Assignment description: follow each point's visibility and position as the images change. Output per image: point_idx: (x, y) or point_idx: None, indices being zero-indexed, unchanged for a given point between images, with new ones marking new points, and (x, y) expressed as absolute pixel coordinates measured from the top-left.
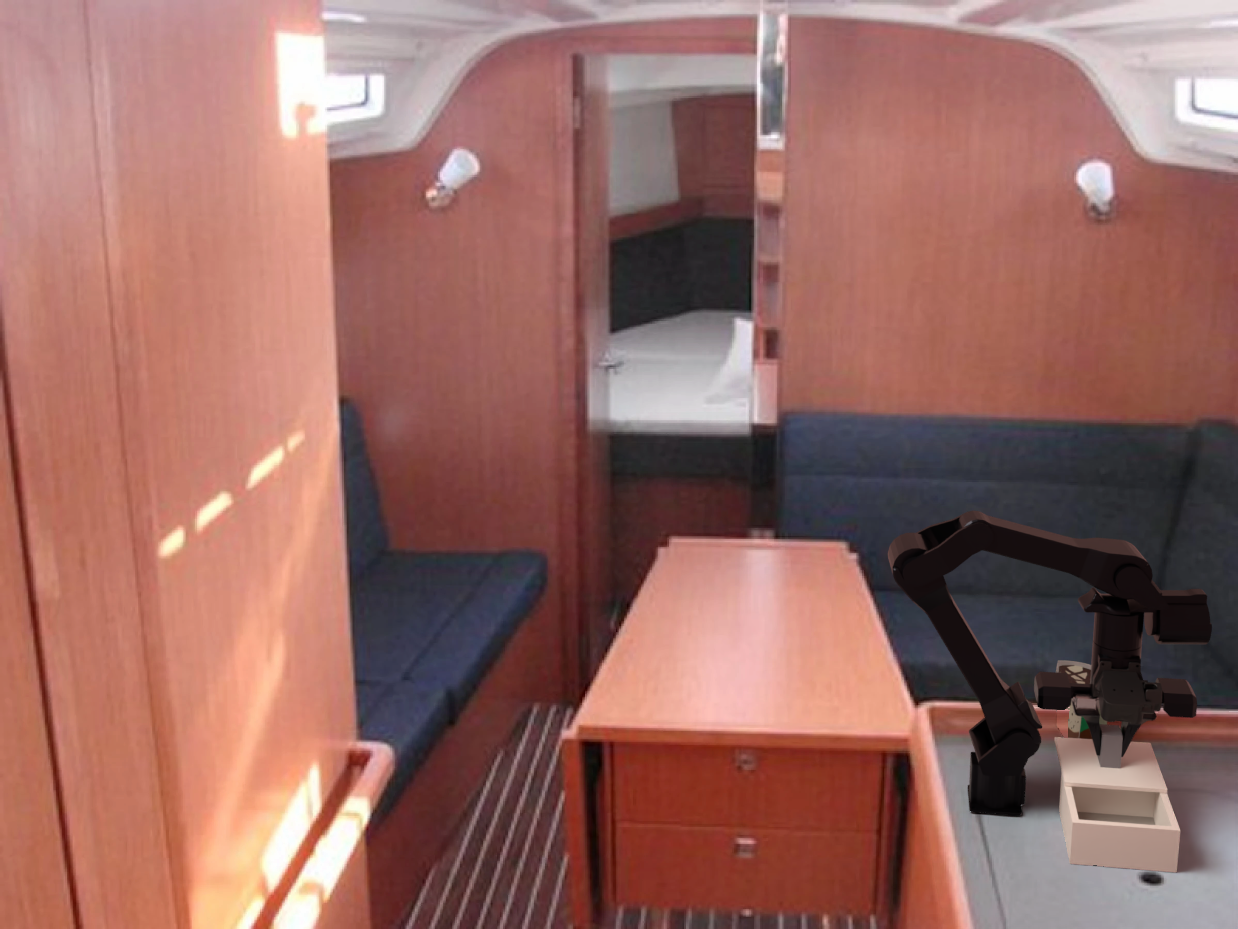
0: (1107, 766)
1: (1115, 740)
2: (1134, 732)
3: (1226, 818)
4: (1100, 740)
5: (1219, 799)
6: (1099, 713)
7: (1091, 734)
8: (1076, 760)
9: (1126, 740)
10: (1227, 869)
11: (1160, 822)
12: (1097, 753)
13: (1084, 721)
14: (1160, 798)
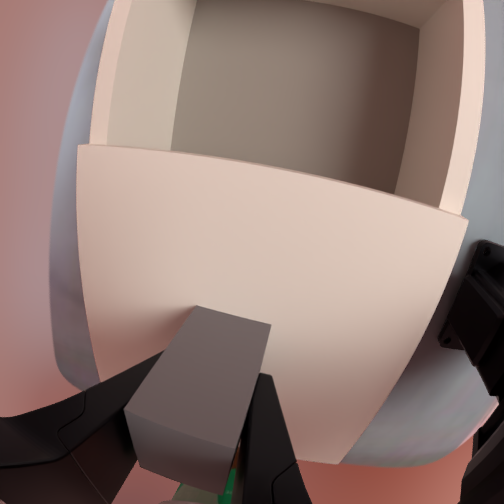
0: (243, 320)
1: (171, 404)
2: (62, 404)
3: (54, 207)
4: (248, 426)
5: (58, 269)
6: (198, 490)
7: (294, 463)
8: (343, 373)
9: (121, 390)
10: (96, 28)
11: (156, 103)
12: (268, 379)
13: (233, 484)
14: (115, 129)
